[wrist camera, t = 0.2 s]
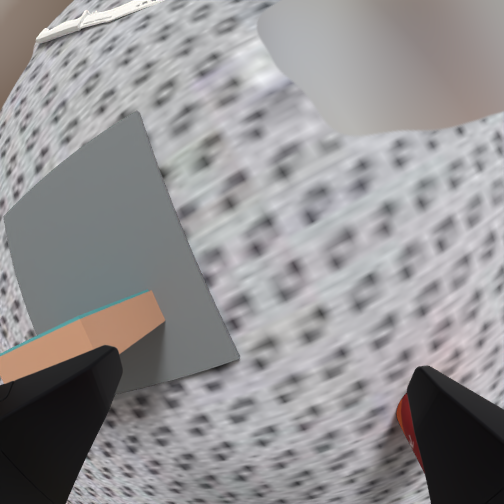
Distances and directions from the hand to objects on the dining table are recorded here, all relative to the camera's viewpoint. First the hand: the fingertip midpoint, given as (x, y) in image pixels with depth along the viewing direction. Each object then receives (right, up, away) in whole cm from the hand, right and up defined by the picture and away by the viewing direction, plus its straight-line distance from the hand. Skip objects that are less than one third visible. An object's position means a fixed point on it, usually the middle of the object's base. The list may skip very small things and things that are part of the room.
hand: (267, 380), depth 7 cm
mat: (-16, +1, +16) cm, 23 cm away
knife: (-19, +37, +16) cm, 45 cm away
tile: (-14, -3, +16) cm, 22 cm away
